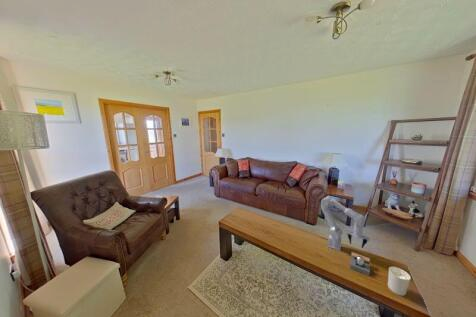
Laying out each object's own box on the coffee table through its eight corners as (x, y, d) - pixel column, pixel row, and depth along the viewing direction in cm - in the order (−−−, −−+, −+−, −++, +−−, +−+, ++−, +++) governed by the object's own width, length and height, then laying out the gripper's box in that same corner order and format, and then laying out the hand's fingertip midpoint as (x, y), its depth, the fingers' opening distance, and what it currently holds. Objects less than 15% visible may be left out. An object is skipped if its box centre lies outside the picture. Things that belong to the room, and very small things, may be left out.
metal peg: (356, 267, 119) (357, 258, 118) (356, 264, 122) (357, 254, 121) (362, 270, 117) (364, 260, 115) (362, 266, 120) (364, 257, 119)
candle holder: (383, 280, 109) (385, 264, 108) (402, 285, 106) (405, 269, 104) (390, 293, 100) (393, 276, 99) (411, 299, 97) (414, 282, 95)
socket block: (350, 268, 119) (350, 261, 118) (350, 258, 129) (351, 251, 128) (369, 276, 113) (370, 269, 112) (368, 264, 122) (369, 258, 121)
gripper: (346, 229, 129) (345, 244, 131) (370, 235, 120) (368, 252, 122) (347, 224, 134) (345, 239, 136) (369, 231, 126) (367, 246, 128)
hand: (356, 245), depth 130 cm, fingers open, 7 cm apart
